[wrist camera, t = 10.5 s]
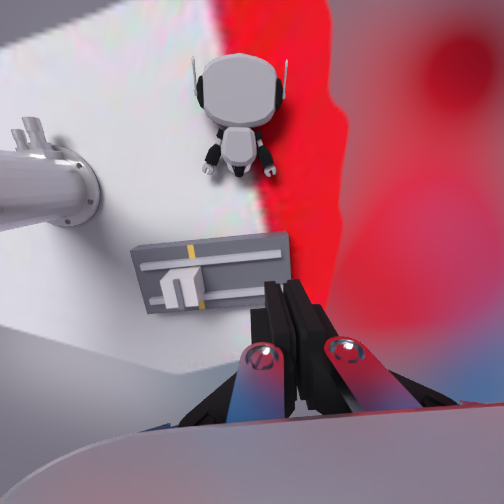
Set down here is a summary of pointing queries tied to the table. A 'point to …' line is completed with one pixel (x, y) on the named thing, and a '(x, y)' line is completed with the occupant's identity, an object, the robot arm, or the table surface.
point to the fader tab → (183, 287)
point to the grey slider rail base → (216, 268)
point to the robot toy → (239, 108)
